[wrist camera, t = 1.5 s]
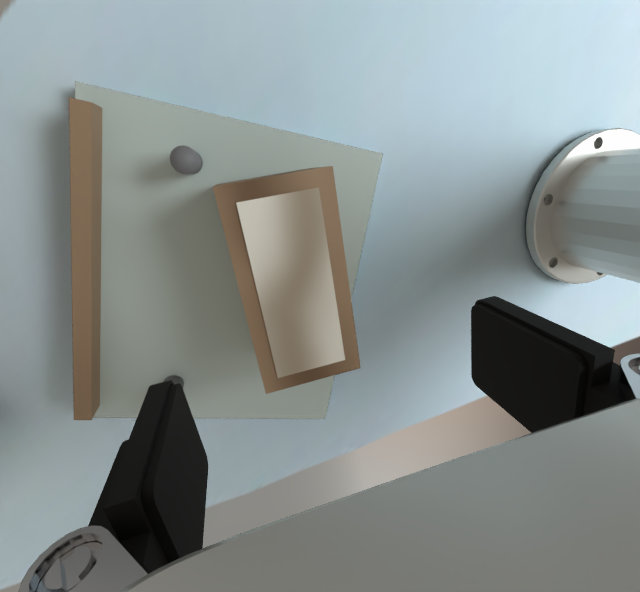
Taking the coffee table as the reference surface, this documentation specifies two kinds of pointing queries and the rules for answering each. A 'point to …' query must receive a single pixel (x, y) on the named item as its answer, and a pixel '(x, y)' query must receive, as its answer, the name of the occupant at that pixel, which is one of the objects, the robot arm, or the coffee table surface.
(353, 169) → the wall board
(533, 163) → the coffee table surface
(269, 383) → the wooden box
